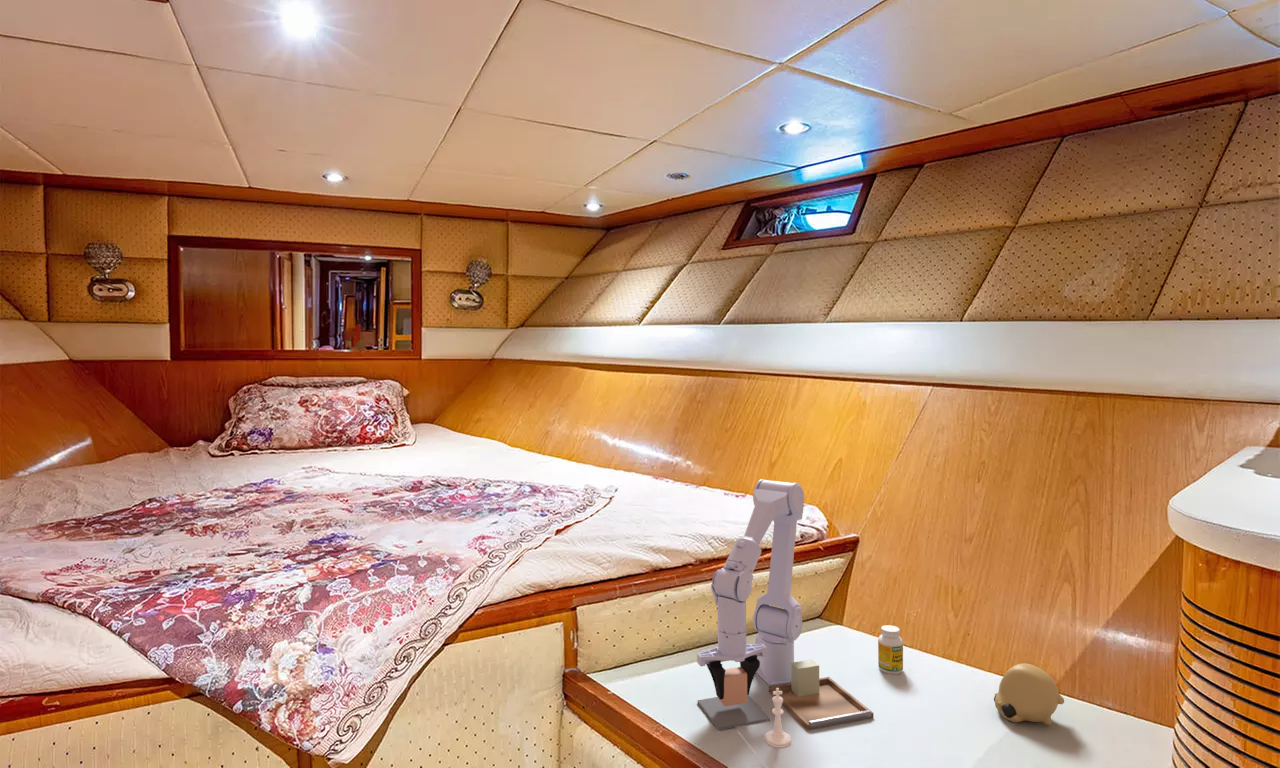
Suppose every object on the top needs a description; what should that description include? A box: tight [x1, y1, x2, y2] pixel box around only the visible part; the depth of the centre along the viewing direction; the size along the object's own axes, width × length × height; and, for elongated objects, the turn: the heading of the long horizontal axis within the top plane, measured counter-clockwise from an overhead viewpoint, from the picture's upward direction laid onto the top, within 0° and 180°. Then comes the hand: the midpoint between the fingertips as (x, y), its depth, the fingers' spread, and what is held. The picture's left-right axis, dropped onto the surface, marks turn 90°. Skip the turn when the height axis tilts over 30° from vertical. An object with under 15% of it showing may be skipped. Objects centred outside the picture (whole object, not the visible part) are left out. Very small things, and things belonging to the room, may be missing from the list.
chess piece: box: [764, 688, 792, 748], centre depth 126 cm, size 5×5×10 cm
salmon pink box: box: [719, 666, 747, 706], centre depth 136 cm, size 3×5×6 cm, turn 106°
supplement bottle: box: [877, 624, 904, 675], centre depth 154 cm, size 5×5×10 cm
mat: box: [697, 694, 771, 731], centre depth 136 cm, size 11×11×1 cm
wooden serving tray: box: [768, 676, 874, 731], centre depth 138 cm, size 16×15×2 cm
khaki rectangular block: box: [791, 659, 820, 697], centre depth 144 cm, size 3×5×6 cm, turn 106°
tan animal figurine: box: [993, 662, 1065, 726], centre depth 132 cm, size 10×12×11 cm
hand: (732, 694), depth 136 cm, fingers closed on salmon pink box, 5 cm apart
